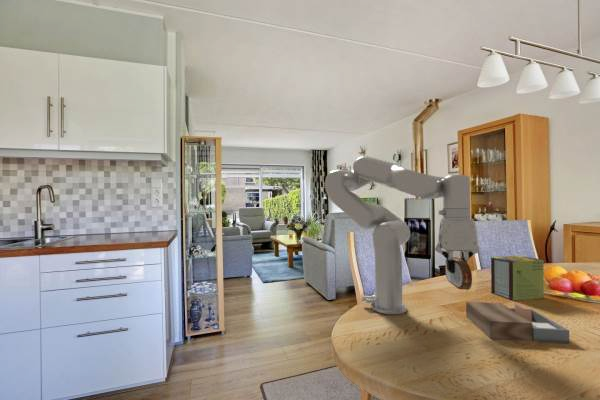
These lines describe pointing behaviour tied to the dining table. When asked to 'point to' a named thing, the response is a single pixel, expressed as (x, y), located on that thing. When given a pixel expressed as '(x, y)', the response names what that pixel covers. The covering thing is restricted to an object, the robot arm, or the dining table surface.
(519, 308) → the terracotta tile
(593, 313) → the dining table surface
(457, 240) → the robot arm
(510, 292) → the protein box
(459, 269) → the tin
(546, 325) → the cream tile
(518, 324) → the brown flat block
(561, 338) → the box
